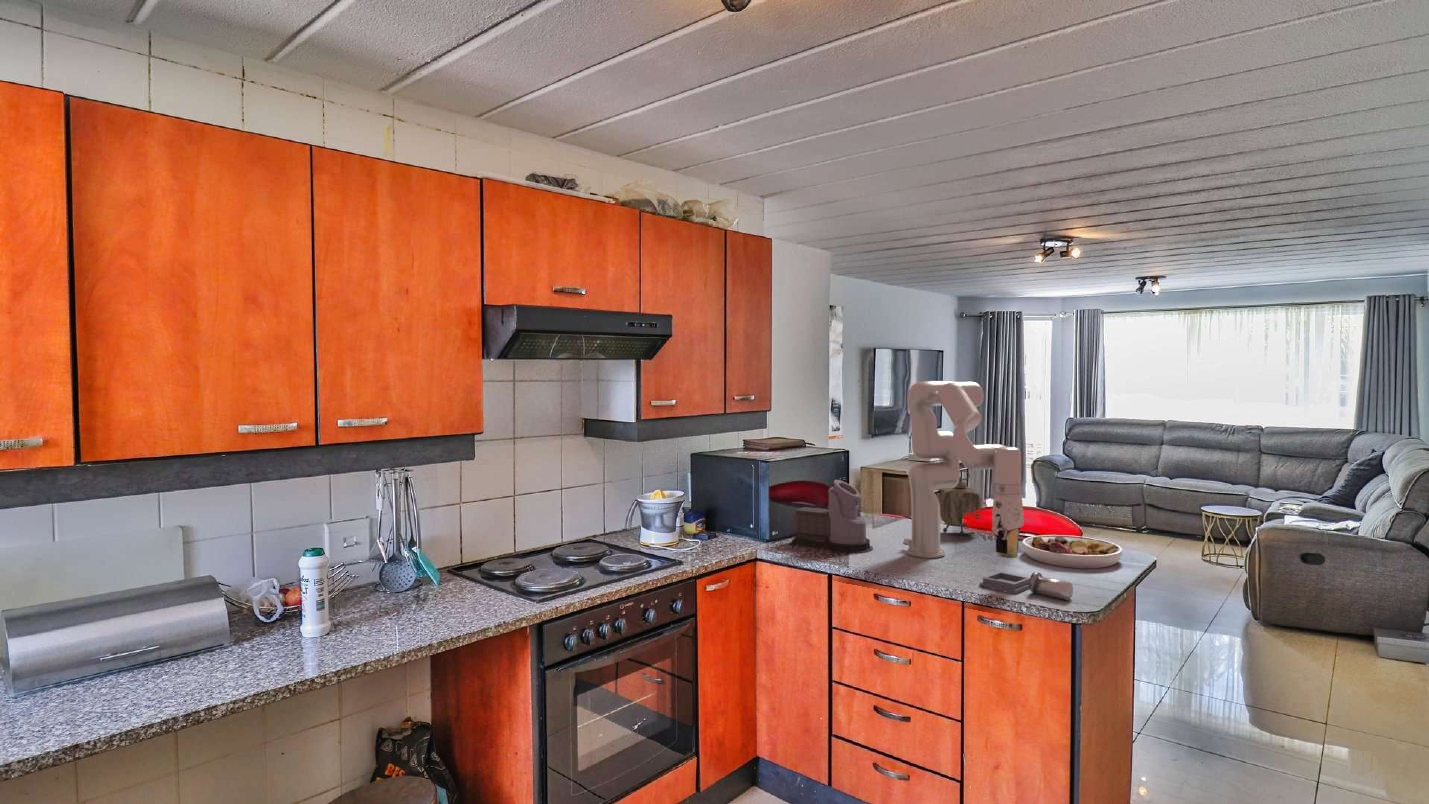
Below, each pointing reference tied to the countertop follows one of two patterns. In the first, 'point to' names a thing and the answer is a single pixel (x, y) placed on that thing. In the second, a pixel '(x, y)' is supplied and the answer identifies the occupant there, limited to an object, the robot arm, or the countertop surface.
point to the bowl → (1072, 551)
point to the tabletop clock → (959, 504)
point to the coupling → (1011, 544)
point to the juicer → (834, 523)
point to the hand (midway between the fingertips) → (1007, 550)
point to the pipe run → (1050, 587)
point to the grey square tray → (1006, 582)
